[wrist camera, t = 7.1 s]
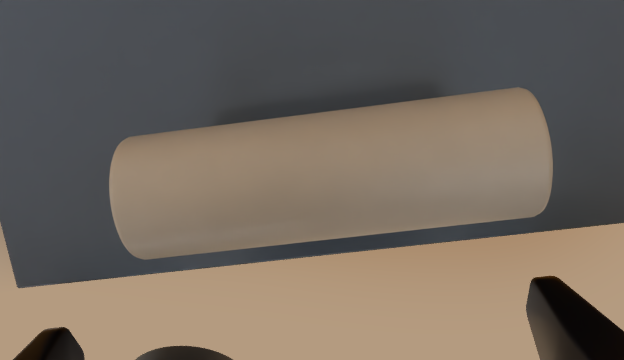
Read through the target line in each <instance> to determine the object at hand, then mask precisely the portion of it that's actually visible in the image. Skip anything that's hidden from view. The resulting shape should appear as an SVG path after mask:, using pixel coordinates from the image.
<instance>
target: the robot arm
mask: <svg viewBox="0 0 624 360" xmlns="http://www.w3.org/2000/svg"><path fill="white" fill-rule="evenodd" d="M526 311H527V317H528V321H529V324H530V327H531V330H532V334H533V337H534V341H535V344H536V347H537V351H538V354H539V357H540V360H624V331H623V330H621V329H620V328H619V327H618V326H616V325H615V324H614V323H613V322H612V321H610V320H609V319H608V318H607V317H606V316H604V315H603V314H602V313H600V312H599V311H598V310H597V309H596V308H595V307H593V306H592V305H591V304H590V303H588V302H587V301H586V300H585V299H583V298H582V297H581V296H580V295H579V294H577V293H576V292H575V291H574V290H572V289H571V288H570V287H569V286H567V285H566V284H565V283H564V282H563V281H561V280H560V279H559V278H557V277H555V276H545V277H536V278H534V279H532V281H531V283H530V289H529V294H528V299H527V305H526ZM13 360H84V353H83V350H82V348H81V347H80V345H79V344H78V343H77V341H76V340H75V338H74V337H73V336H72V334H71V332H70V331H69V330H68V329H67V328H65V327H59V328H50V329H46V330H43V331H42V332H41V333H40V334H38V335H37V337H35V339H34V340H32V341H31V342H30V344H28V345H27V346H26V348H24V349H23V350H22V351H21V352H20V353H19V354H18V355H17V356H16V357H15V358H14V359H13Z"/></svg>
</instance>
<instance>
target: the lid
mask: <svg viewBox="0 0 624 360" xmlns="http://www.w3.org/2000/svg"><path fill="white" fill-rule="evenodd" d="M0 222H1V226H2V230H3V234H4V238H5V241H6V245H7V249H8V253H9V257H10V261H11V264H12V268H13V272H14V276H15V280H16V284H17V287H18V288H25V287H35V286H44V285H53V284H62V283H72V282H81V281H89V280H98V279H109V278H118V277H127V276H136V275H145V274H154V273H164V272H173V271H183V270H192V269H201V268H210V267H220V266H229V265H238V264H247V263H256V262H266V261H275V260H284V259H294V258H303V257H312V256H321V255H331V254H340V253H349V252H359V251H368V250H377V249H386V248H396V247H405V246H414V245H423V244H432V243H442V242H451V241H460V240H470V239H479V238H488V237H497V236H507V235H516V234H525V233H534V232H544V231H552V230H562V229H571V228H581V227H590V226H599V225H608V224H617V223H624V0H0Z"/></svg>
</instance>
